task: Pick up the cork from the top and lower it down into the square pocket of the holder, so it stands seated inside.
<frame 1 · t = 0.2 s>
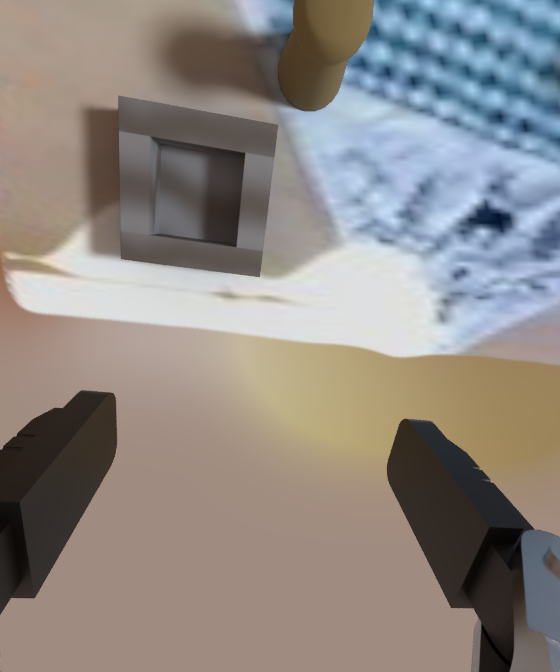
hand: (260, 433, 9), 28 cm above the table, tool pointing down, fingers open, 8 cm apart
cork: (310, 74, 30), on the table
square holder: (202, 197, 33), on the table
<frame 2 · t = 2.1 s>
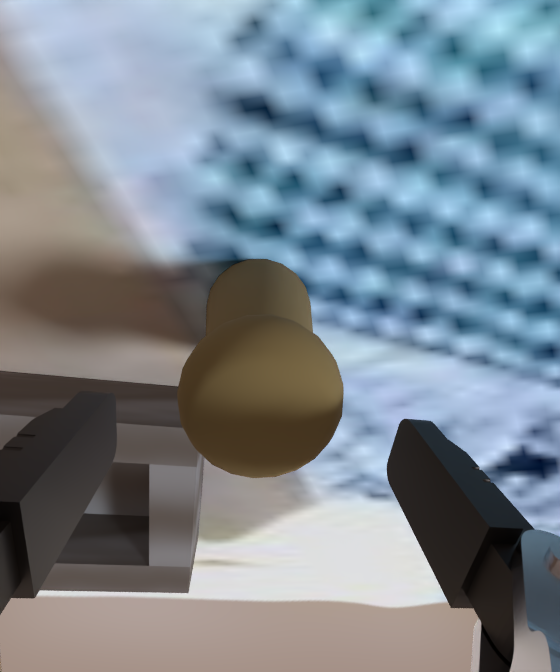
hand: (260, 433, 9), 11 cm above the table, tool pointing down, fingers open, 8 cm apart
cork: (259, 310, 19), on the table
square holder: (106, 464, 22), on the table
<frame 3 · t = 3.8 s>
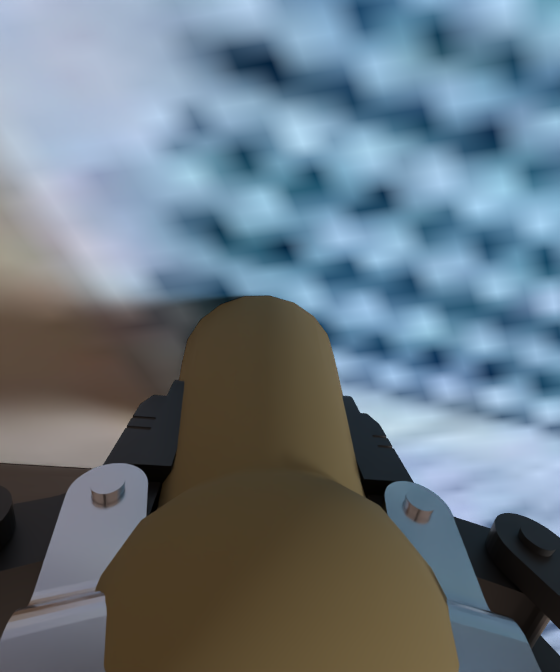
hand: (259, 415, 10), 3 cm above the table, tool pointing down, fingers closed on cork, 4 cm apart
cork: (259, 367, 13), on the table, touching gripper
square holder: (46, 572, 16), on the table
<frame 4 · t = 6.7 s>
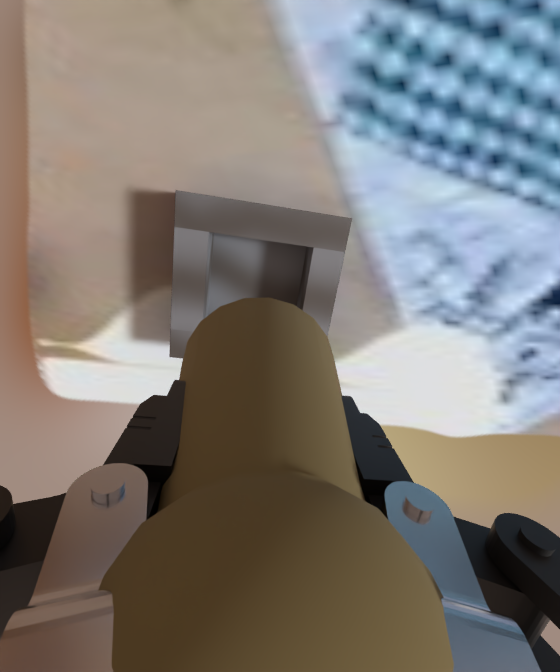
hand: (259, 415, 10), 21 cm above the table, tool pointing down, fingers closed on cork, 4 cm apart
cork: (259, 368, 13), point 18 cm above the table, touching gripper
square holder: (255, 281, 30), on the table
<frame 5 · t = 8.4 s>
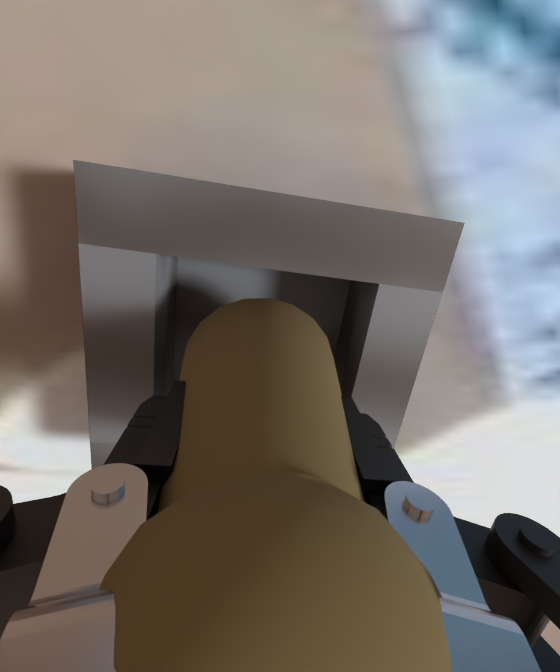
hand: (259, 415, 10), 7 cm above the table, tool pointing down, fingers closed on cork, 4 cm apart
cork: (259, 369, 13), point 4 cm above the table, touching gripper
square holder: (257, 335, 17), on the table
when the fingers open (6 cm above the table, at t = 9.4 s): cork drops 2 cm, resting on square holder.
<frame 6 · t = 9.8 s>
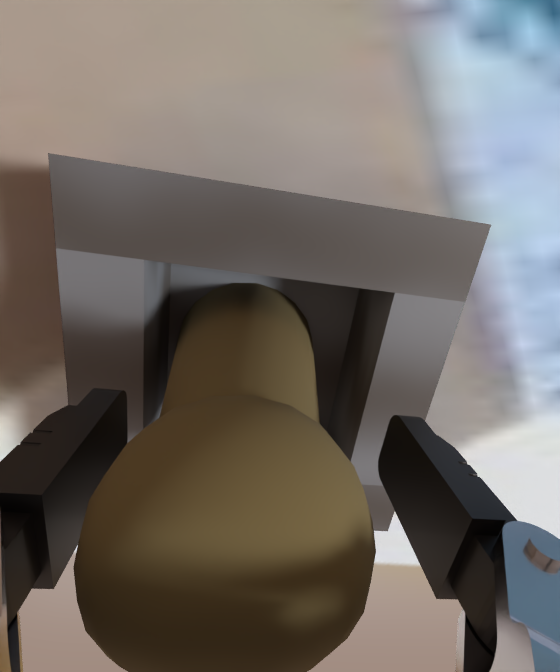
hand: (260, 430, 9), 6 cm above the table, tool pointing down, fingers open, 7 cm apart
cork: (246, 346, 15), resting on square holder
square holder: (258, 346, 15), on the table
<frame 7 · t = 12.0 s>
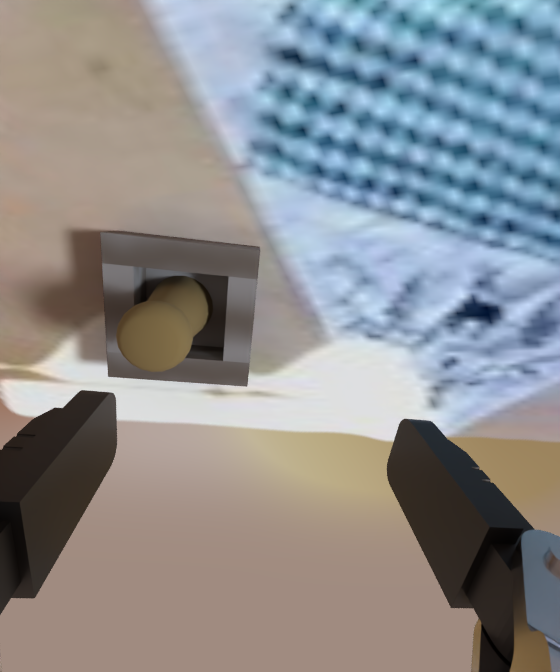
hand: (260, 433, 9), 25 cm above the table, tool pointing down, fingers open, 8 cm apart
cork: (182, 305, 33), resting on square holder
square holder: (189, 305, 33), on the table
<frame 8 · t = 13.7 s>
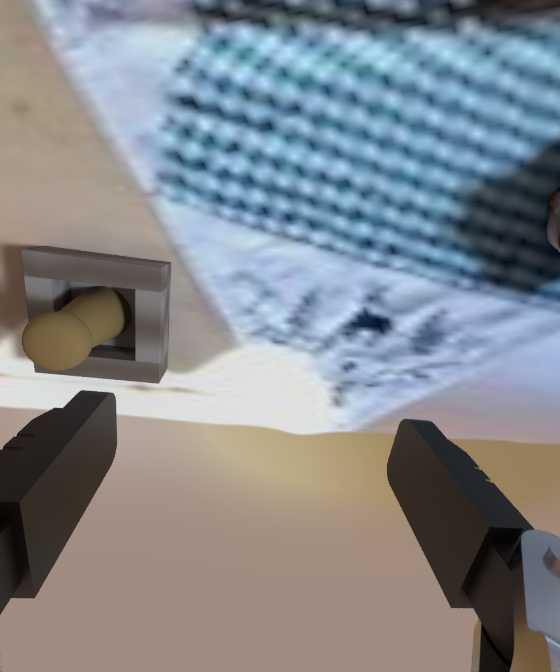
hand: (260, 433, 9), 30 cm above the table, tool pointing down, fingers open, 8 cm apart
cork: (104, 311, 38), resting on square holder
square holder: (111, 311, 38), on the table
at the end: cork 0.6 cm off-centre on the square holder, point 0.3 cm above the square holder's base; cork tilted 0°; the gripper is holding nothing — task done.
